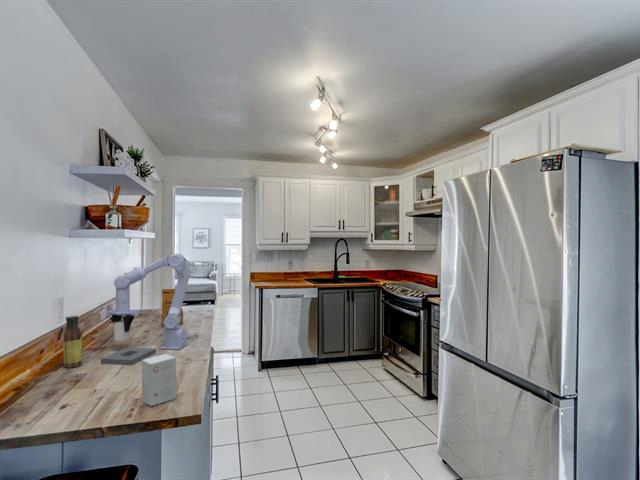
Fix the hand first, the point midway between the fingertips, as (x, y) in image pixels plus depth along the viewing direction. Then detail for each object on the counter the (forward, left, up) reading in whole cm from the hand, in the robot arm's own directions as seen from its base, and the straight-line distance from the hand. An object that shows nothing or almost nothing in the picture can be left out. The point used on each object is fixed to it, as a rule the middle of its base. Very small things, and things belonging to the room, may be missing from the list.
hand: (122, 331), depth 164 cm
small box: (-48, +46, -9) cm, 67 cm away
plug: (0, 0, -3) cm, 3 cm away
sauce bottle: (+5, +22, -9) cm, 24 cm away
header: (-11, +10, -9) cm, 17 cm away
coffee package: (+6, -51, -9) cm, 52 cm away
